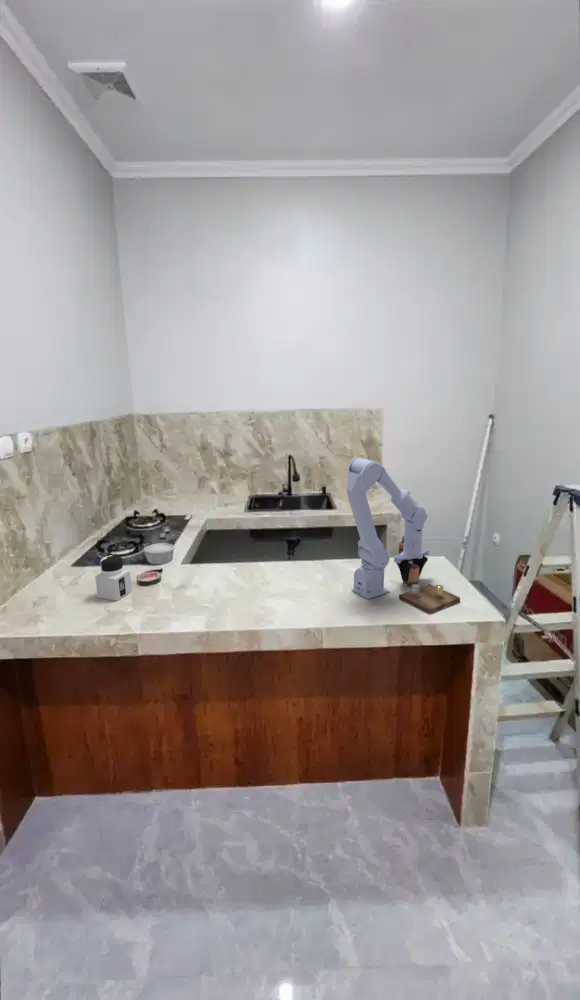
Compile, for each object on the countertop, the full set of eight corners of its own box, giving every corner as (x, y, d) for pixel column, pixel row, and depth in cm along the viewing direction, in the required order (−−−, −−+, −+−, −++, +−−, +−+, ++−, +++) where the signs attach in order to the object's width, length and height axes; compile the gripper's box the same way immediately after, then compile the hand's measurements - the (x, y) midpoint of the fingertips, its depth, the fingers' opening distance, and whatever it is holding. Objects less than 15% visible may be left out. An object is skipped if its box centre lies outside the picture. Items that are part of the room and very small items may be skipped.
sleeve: (410, 587, 157) (411, 570, 155) (399, 582, 161) (400, 565, 159) (421, 583, 159) (422, 567, 158) (410, 578, 163) (411, 562, 162)
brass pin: (439, 603, 145) (440, 588, 144) (433, 600, 147) (434, 585, 146) (443, 601, 146) (444, 586, 145) (438, 599, 148) (439, 584, 147)
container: (132, 591, 156) (128, 554, 153) (117, 601, 149) (112, 563, 146) (113, 588, 159) (109, 552, 156) (97, 598, 152) (92, 560, 149)
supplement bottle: (415, 569, 171) (416, 540, 168) (398, 568, 172) (399, 539, 170) (414, 563, 177) (415, 534, 174) (397, 562, 178) (399, 533, 175)
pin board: (428, 614, 139) (429, 598, 137) (398, 598, 148) (399, 584, 147) (459, 601, 146) (461, 587, 145) (429, 588, 156) (430, 574, 155)
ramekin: (181, 558, 185) (180, 545, 184) (159, 568, 176) (158, 554, 175) (161, 553, 191) (160, 541, 190) (139, 562, 182) (137, 549, 181)
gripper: (406, 548, 149) (404, 587, 153) (437, 539, 157) (434, 577, 160) (390, 542, 155) (388, 580, 158) (420, 534, 163) (418, 570, 166)
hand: (410, 578), depth 160 cm, fingers closed on sleeve, 5 cm apart
